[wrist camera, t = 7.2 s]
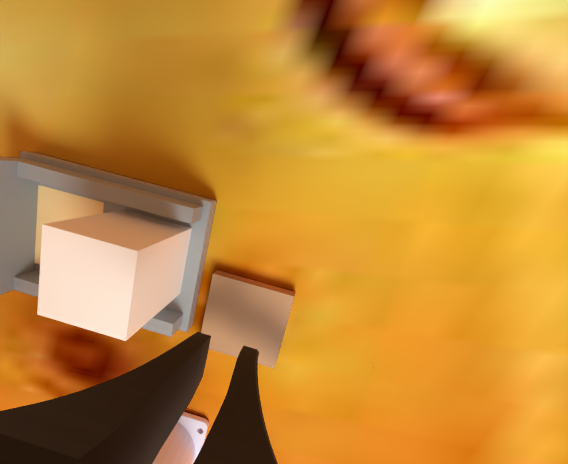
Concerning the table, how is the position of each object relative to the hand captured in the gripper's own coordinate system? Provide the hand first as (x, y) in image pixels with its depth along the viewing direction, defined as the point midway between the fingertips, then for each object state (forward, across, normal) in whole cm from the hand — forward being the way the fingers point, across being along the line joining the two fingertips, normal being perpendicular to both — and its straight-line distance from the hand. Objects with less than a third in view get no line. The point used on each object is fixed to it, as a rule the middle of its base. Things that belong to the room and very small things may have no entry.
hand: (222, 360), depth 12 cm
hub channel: (+9, +12, 0) cm, 15 cm away
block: (+8, +8, 0) cm, 11 cm away
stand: (+9, 0, +3) cm, 9 cm away
